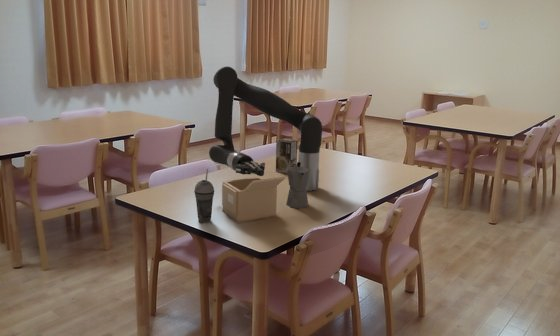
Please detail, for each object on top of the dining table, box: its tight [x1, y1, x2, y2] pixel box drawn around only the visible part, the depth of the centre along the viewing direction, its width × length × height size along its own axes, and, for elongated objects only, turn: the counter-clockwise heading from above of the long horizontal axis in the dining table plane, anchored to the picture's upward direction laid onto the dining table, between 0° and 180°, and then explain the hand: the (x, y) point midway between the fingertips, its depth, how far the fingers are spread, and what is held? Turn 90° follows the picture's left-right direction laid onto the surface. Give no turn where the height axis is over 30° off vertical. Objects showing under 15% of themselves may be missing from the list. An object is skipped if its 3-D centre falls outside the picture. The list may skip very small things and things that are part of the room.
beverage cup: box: [193, 168, 215, 224], centre depth 184 cm, size 7×7×20 cm
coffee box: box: [275, 138, 298, 174], centre depth 255 cm, size 9×6×16 cm
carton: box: [221, 176, 278, 224], centre depth 194 cm, size 15×18×12 cm
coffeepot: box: [286, 161, 310, 209], centre depth 206 cm, size 15×9×18 cm, turn 13°
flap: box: [244, 176, 286, 192], centre depth 182 cm, size 1×13×9 cm
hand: (262, 173), depth 183 cm, fingers closed
